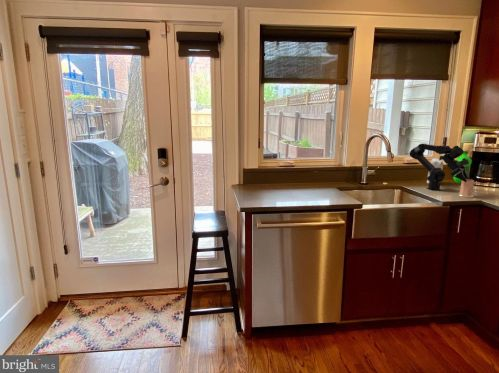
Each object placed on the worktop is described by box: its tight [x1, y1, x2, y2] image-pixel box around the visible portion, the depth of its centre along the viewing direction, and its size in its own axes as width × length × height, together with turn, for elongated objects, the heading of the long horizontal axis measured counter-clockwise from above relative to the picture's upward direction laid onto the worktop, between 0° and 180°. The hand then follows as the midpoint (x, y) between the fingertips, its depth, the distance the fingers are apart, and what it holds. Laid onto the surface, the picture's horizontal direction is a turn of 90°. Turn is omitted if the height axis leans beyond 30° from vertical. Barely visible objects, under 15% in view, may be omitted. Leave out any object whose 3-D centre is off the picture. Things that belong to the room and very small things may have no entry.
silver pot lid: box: [456, 192, 475, 199], centre depth 217 cm, size 10×10×5 cm
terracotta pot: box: [459, 178, 475, 196], centre depth 216 cm, size 6×6×10 cm
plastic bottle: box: [452, 150, 473, 184], centre depth 254 cm, size 10×10×25 cm
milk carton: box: [426, 158, 444, 184], centre depth 251 cm, size 7×7×19 cm
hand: (467, 180), depth 215 cm, fingers open, 9 cm apart
